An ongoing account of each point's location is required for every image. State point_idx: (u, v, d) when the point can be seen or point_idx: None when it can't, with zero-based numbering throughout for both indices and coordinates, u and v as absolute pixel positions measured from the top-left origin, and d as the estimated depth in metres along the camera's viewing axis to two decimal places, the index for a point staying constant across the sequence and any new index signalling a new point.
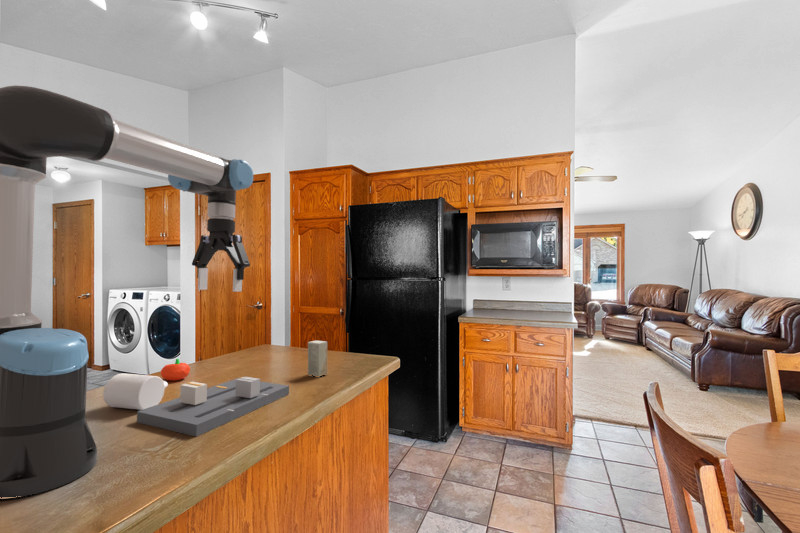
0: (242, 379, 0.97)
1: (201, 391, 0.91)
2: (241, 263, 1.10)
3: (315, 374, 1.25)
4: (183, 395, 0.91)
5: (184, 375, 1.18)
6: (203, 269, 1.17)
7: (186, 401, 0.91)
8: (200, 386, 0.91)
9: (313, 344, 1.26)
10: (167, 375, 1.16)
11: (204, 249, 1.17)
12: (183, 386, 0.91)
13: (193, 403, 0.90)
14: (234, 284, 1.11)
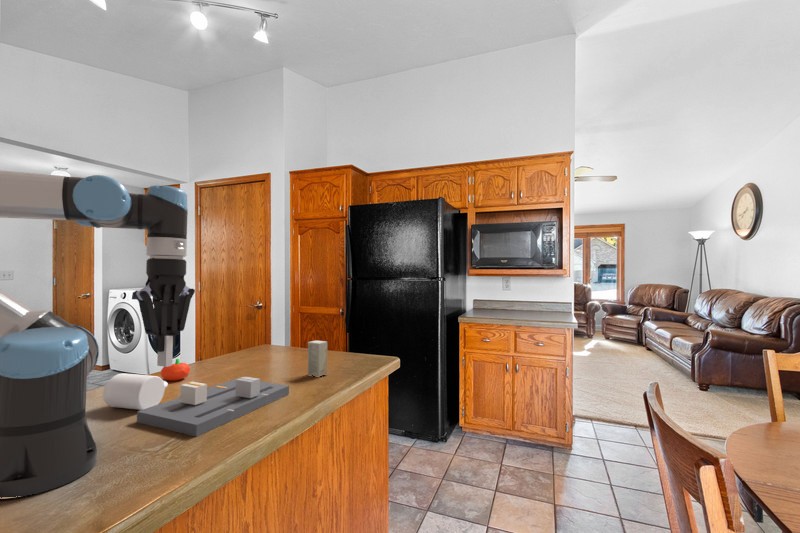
0: (242, 379, 0.97)
1: (201, 391, 0.91)
2: None
3: (315, 374, 1.25)
4: (183, 395, 0.91)
5: (184, 375, 1.18)
6: None
7: (186, 401, 0.91)
8: (200, 386, 0.91)
9: (313, 344, 1.26)
10: (167, 375, 1.16)
11: (181, 304, 0.88)
12: (183, 386, 0.91)
13: (193, 403, 0.90)
14: None
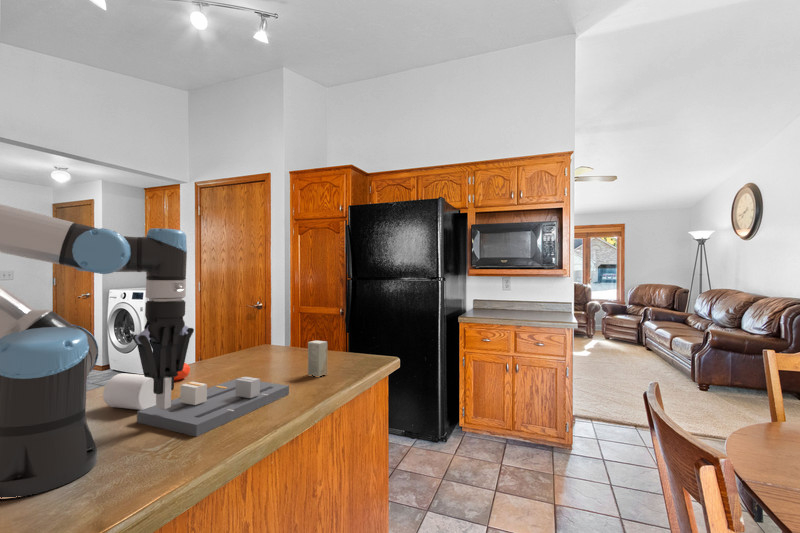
0: (242, 379, 0.97)
1: (201, 391, 0.91)
2: None
3: (315, 374, 1.25)
4: (183, 395, 0.91)
5: (184, 375, 1.18)
6: None
7: (186, 401, 0.91)
8: (200, 386, 0.91)
9: (313, 344, 1.26)
10: None
11: (180, 344, 0.88)
12: (183, 386, 0.91)
13: (193, 403, 0.90)
14: None
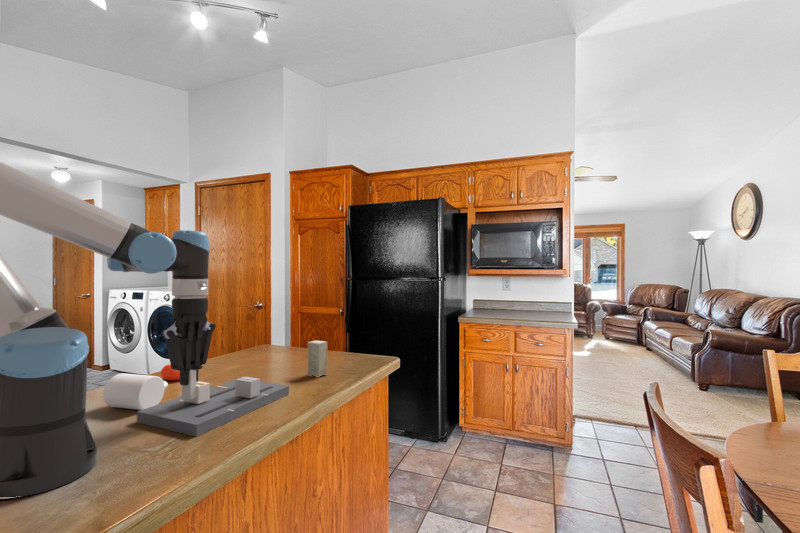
0: (242, 379, 0.97)
1: (204, 390, 0.92)
2: None
3: (315, 374, 1.25)
4: None
5: None
6: None
7: (189, 400, 0.91)
8: (203, 385, 0.92)
9: (313, 344, 1.26)
10: (167, 375, 1.16)
11: (203, 339, 0.94)
12: None
13: (196, 402, 0.91)
14: None
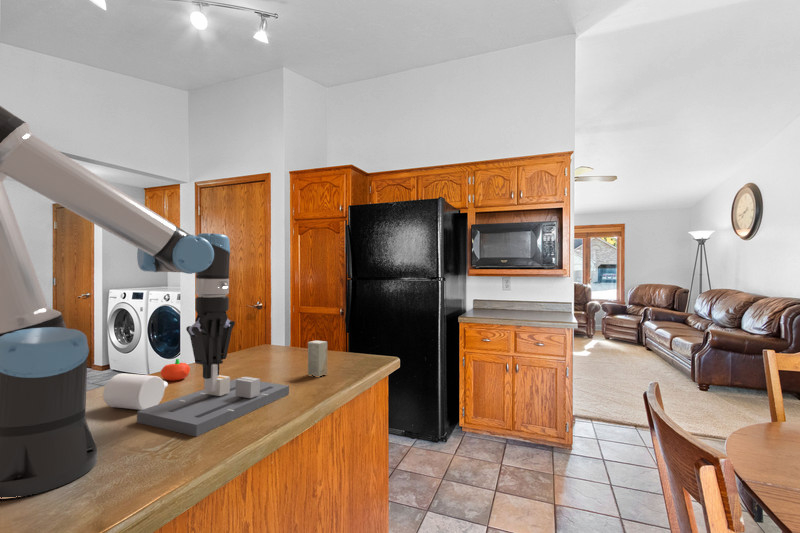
0: (242, 379, 0.97)
1: (224, 383, 0.98)
2: None
3: (315, 374, 1.25)
4: None
5: (184, 375, 1.18)
6: None
7: (211, 392, 0.97)
8: (224, 378, 0.98)
9: (313, 344, 1.26)
10: (167, 375, 1.16)
11: (224, 335, 1.00)
12: None
13: (217, 394, 0.96)
14: None
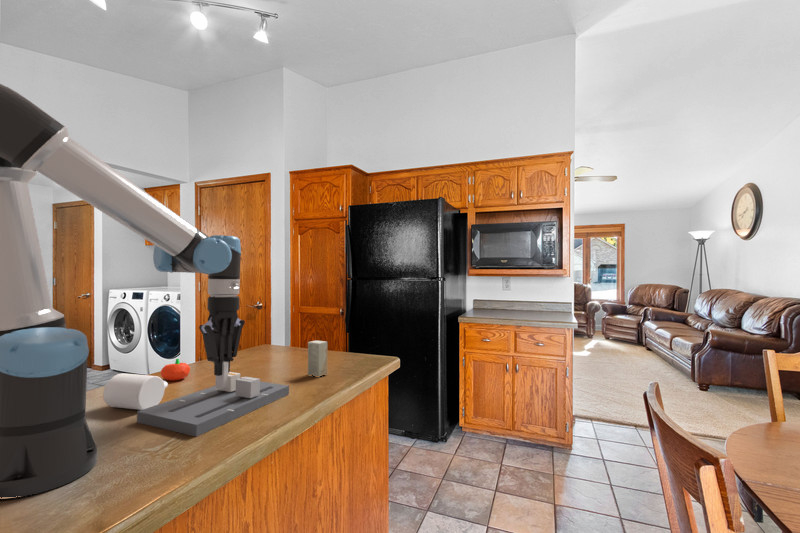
0: (242, 379, 0.97)
1: (235, 379, 1.01)
2: None
3: (315, 374, 1.25)
4: None
5: (184, 375, 1.18)
6: None
7: (222, 388, 1.01)
8: (235, 375, 1.01)
9: (313, 344, 1.26)
10: (167, 375, 1.16)
11: (234, 334, 1.03)
12: None
13: (228, 390, 1.00)
14: None
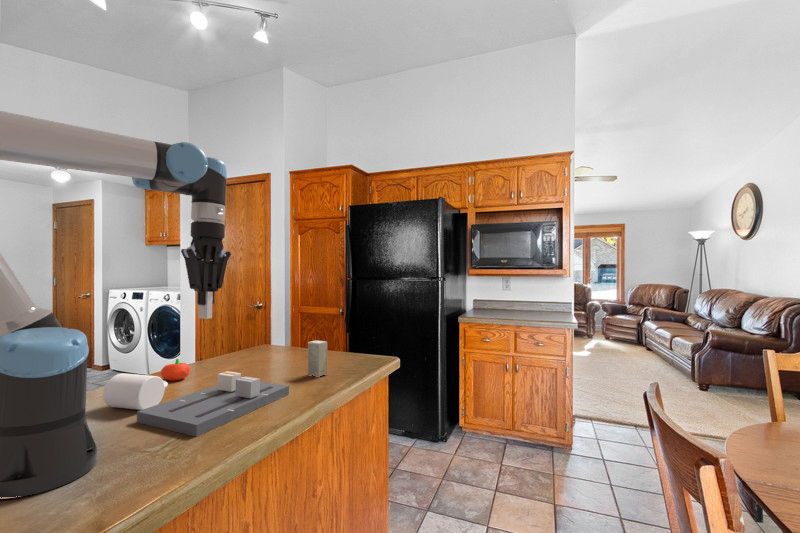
0: (242, 379, 0.97)
1: None
2: None
3: (315, 374, 1.25)
4: (220, 383, 1.01)
5: (184, 375, 1.18)
6: None
7: (223, 388, 1.01)
8: (235, 375, 1.01)
9: (313, 344, 1.26)
10: (167, 375, 1.16)
11: (219, 265, 0.99)
12: (220, 375, 1.01)
13: (229, 390, 1.00)
14: None
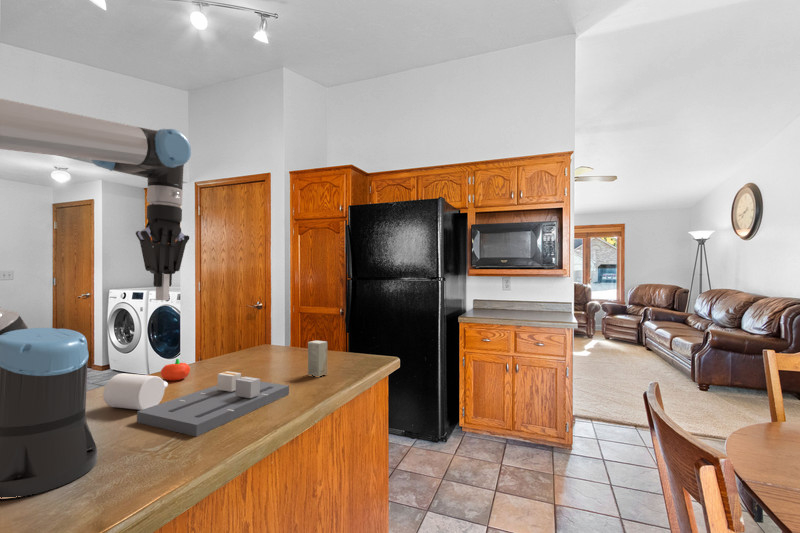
0: (242, 379, 0.97)
1: None
2: None
3: (315, 374, 1.25)
4: (220, 383, 1.01)
5: (184, 375, 1.18)
6: None
7: (223, 388, 1.01)
8: (235, 375, 1.01)
9: (313, 344, 1.26)
10: (167, 375, 1.16)
11: (177, 248, 1.00)
12: (220, 375, 1.01)
13: (229, 390, 1.00)
14: None
